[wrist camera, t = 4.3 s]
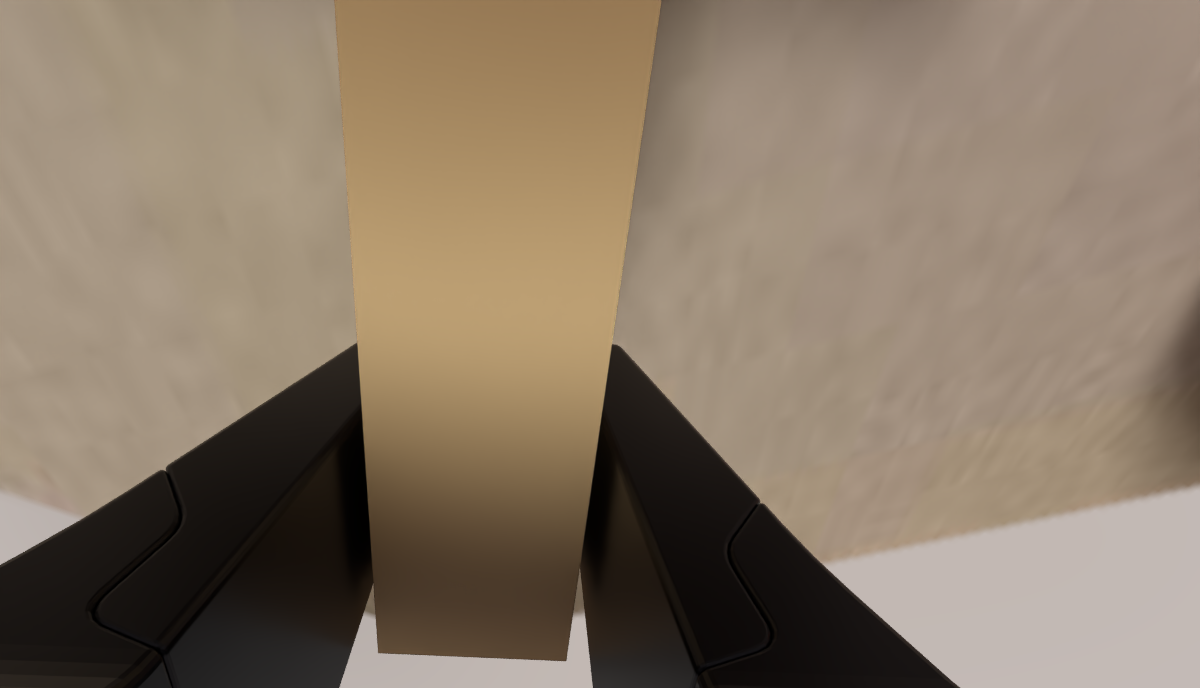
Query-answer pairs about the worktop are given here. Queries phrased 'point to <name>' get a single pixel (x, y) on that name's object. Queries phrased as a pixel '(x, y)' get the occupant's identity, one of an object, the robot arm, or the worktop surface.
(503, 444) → the tan rectangular bar
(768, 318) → the worktop surface
